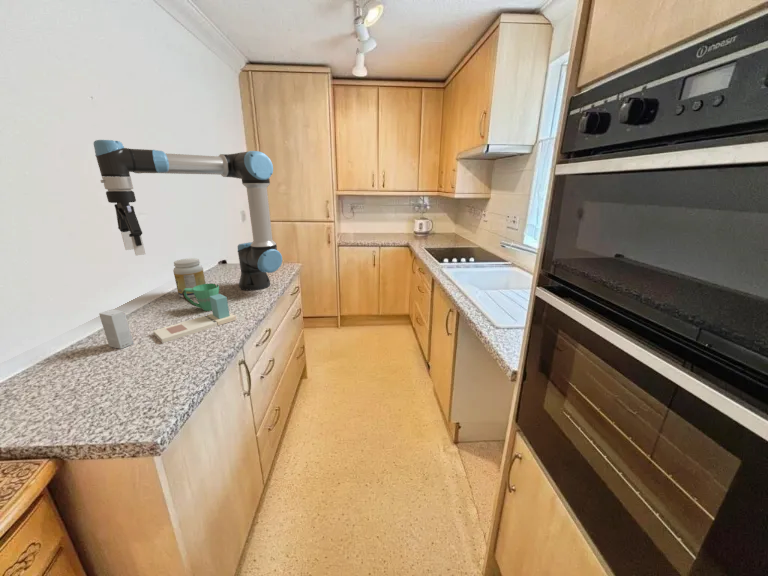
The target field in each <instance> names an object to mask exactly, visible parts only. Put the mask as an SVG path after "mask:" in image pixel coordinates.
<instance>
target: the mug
mask: <svg viewBox="0 0 768 576" xmlns="http://www.w3.org/2000/svg"><path fill="white" fill-rule="evenodd" d="M186 292H193V293H194V295H195V298H196V301H197V302H198V303H197V302H194V300H192V298H189V297H188V296H187V294H186ZM219 292H220V286H219V284H216V283H206V284H202V285H198V286H195V287H193V288H185V289H184V290H183V292H182V294H183V297H184V298H183V299H184V300H185V301H186V302H187V303H189V304H190V305H192V306H194V307H195V308H196V307H197V308H199V309H202V310H203V311H204V312H210V311H211V310H212V308H211V302H210V297H209V296H213V295H217V294H220V293H219ZM211 312H212V311H211Z"/></svg>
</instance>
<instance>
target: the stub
mask: <svg viewBox="0 0 768 576" xmlns="http://www.w3.org/2000/svg"><path fill="white" fill-rule="evenodd" d="M209 297H210V302H211V308H212V311H211V313H208V314H206V316H208V317H209V318H211V319H212V320H214V321H216V322H217V325H218V326H221V325H224V324H228V323H230V322H233V321H237V315H235V314H233V313H231V312H230V311H229V309H230V308H229V304H228V303H229V302H228V297H227V296H225V295H223V294H221V293H218V294H217V295H213V296H209Z"/></svg>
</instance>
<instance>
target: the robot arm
mask: <svg viewBox="0 0 768 576" xmlns="http://www.w3.org/2000/svg"><path fill="white" fill-rule="evenodd" d="M93 147H94V148H93V149H94V153H95V157H96V161H97V164H98V168H99V172H100V176H101V178H102V179H100V183H101V184H103V186H104V189H105V190H107V191H106V192H105V195H106V198H107V199H106V200H107V201H108V203H110V204H111V203H112V204H114V208H115V213H116V220H117V226H118V227H117V229H118V230H119V231H120V233H121V237H122V238H121V239H122V241H123V244H124V250H125V251H129V250H133V251H134V255H135V256H142V255H146V251H145V247H144V243H143V239H142V235H143V231H142V228H141V226H140V223H139V220H138V217H137V214H136V212H135V207H134V205H131V204H130V203H136V202H137V199H136V195H135V192H134V190H133V189H134V186H133V182H132V178H131V175H130V174H131V173H133V174H134V173H135V174H171V175H172V174H174V175H176V174H179V175H180V174H181V175H185V174H186V175H220V176H221V177H223V178H236V179H241V184H242V185H243V187H245V188H246V193H247V194H246V195H247V200H248V202H247V203H248V210H249V217H250V224H251V226H250V227H251V233H252V242H244V243H239V244H238V245H237V255H238V261H239V266H240V276H239V277H240V278H239V281H238V285H239V290H240V289H241V290H242V291H257V290H263V289H267V288H268V287H270V286H271V280H270V277H269V275H268V274H272V273H275V272H276V271H277V270H279V268H280V267H281V266H282V264H283V255H282V253H281V252H280V251H279V250H278V246H277V243H276V241H274V240H273V239H274V238H273V233H272V231H273V230H272V223H271V214H270V213H271V212H270V203H269V197H268V195H269V194H268V187H269V186H270V184H271V181H270V178H271V177H272V175H273V173H274V165H273V162H272V160H271V158H270V157H268V155H267V154H265V153H264V152H261V151H259V150H248V151H243V152H242V151H241V152H236V153H231V154H229V153H228V154H225V153H224V154H221V153H220V154H218V156H217V155H216V156H215V155H212V156H211V155H201V154H200V155H199V154H180V153H168V152H167V153H165V152H164V151H162V150H156V149H145V148H143V149H142V148H140V149H138V148H127V147H125V146H124V144H123V143H122V142H121V141H120V140H114V139H113V140H112V139H95V140H94V141H93Z"/></svg>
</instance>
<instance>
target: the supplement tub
mask: <svg viewBox="0 0 768 576" xmlns="http://www.w3.org/2000/svg"><path fill="white" fill-rule="evenodd" d="M173 266H174V268H173V269H172V271H173V275H174V280H175V285H176V289H177V293H178V296H179V297H181V298H182V299H184V297H183V294H182V292H183V290H184V289H185V288H193V287H195V286H198V285H202V284H207V283H206V279H205V278H206V277H205V273H204V272H205V271H204V267H203V265H201V262H200V259H199V258H195V257H193V258H192V257H189V258H182V259H177V260H174V262H173ZM186 294H187V296H188V297H189V298H190V299H193V298H196V297H195V295H194V293H193V292H186Z"/></svg>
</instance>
